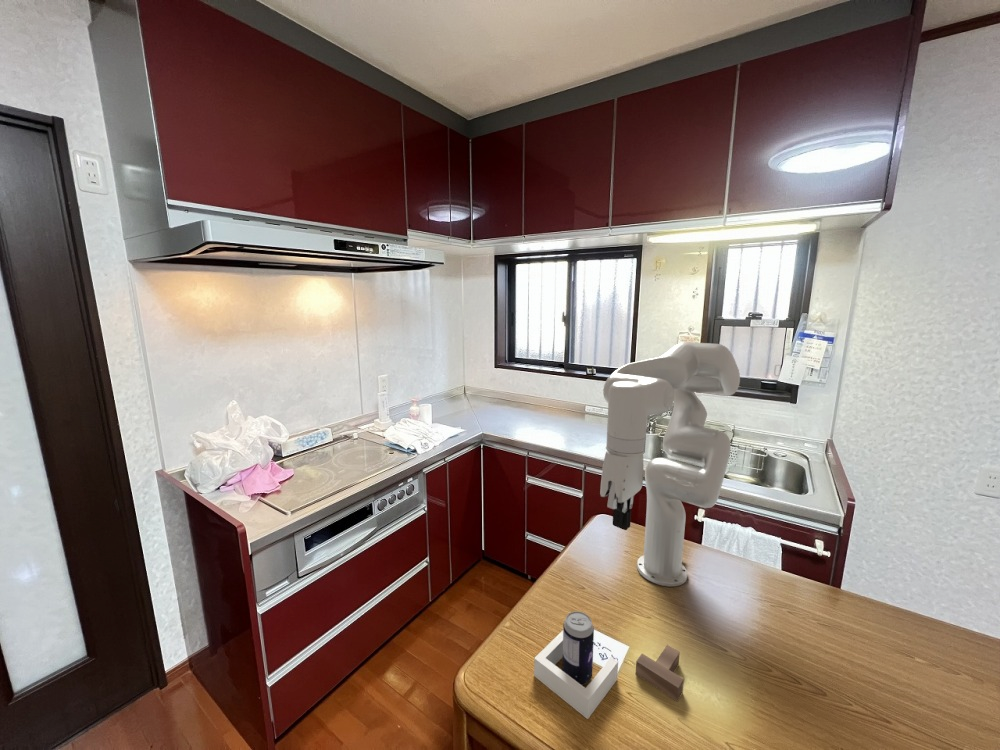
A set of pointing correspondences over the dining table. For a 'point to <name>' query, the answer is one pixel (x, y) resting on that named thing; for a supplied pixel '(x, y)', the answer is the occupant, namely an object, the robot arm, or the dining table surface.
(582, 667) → the beverage can
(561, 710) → the dining table surface
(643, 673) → the walnut T block
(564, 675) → the corral
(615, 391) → the robot arm
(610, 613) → the dining table surface
